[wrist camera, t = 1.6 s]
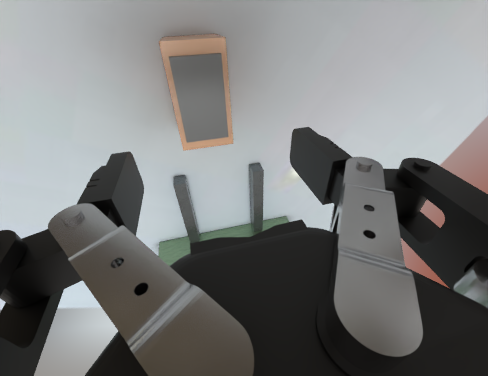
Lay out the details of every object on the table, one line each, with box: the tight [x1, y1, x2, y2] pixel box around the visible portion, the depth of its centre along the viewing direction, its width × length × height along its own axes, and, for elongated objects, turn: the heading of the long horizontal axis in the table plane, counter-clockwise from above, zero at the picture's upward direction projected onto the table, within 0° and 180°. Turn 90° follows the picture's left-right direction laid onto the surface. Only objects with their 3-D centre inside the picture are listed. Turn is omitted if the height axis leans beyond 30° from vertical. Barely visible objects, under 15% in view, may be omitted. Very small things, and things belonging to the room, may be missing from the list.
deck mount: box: [158, 163, 289, 266], centre depth 33 cm, size 22×15×7 cm
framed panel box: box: [159, 34, 233, 150], centre depth 22 cm, size 5×9×6 cm, turn 2°
